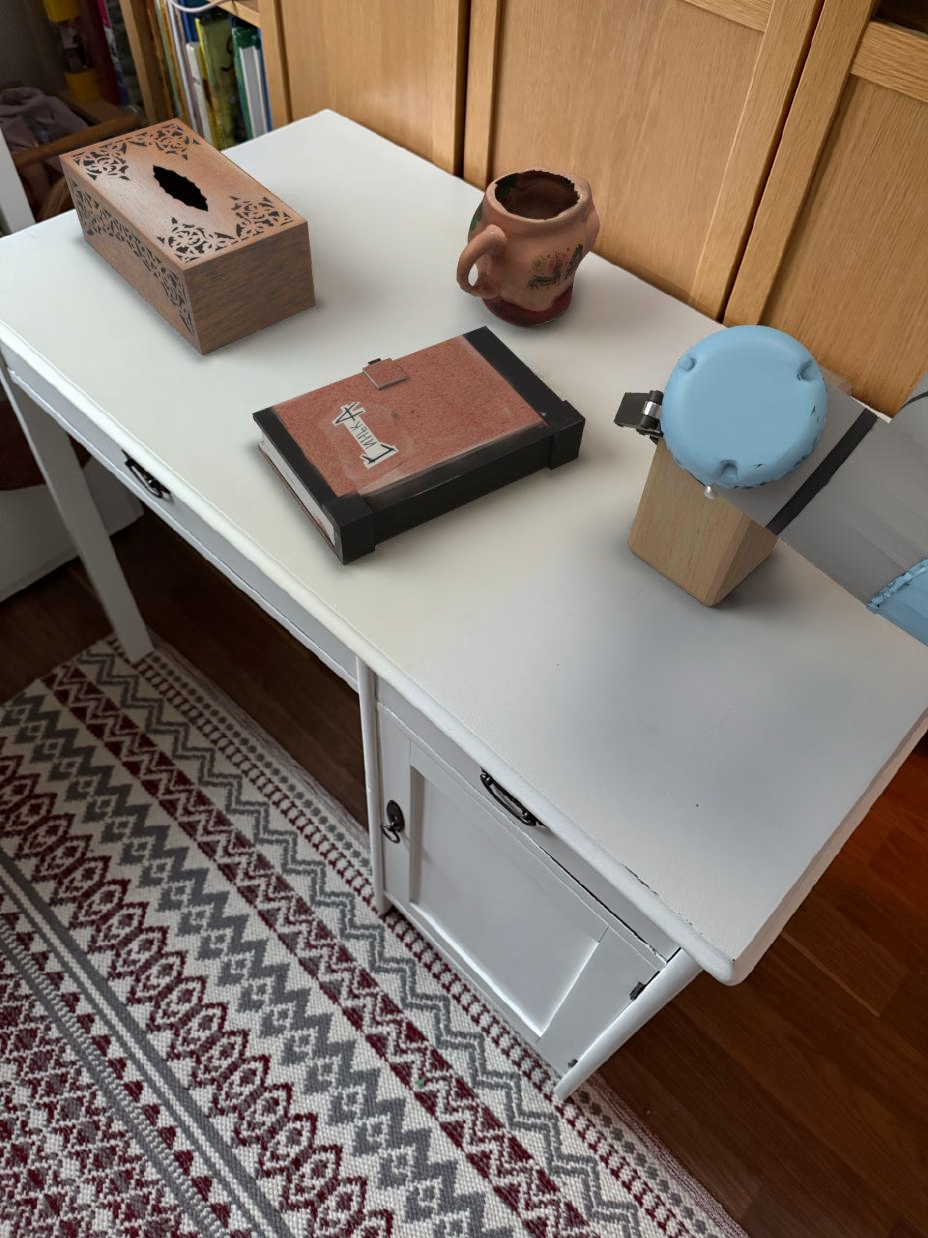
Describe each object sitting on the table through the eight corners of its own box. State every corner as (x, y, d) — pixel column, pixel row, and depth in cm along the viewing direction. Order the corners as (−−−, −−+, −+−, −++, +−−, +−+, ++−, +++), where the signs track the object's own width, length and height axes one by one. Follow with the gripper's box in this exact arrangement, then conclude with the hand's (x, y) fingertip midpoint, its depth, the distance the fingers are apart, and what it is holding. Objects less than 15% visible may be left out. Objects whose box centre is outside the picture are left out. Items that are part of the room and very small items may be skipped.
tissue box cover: (85, 240, 106) (58, 155, 98) (194, 200, 112) (177, 117, 104) (202, 355, 95) (182, 270, 87) (315, 304, 101) (307, 220, 93)
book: (479, 357, 97) (482, 317, 93) (577, 457, 89) (585, 418, 85) (255, 444, 88) (248, 404, 84) (343, 565, 80) (339, 527, 76)
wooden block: (773, 554, 83) (862, 381, 67) (709, 614, 79) (788, 446, 62) (686, 494, 87) (750, 318, 71) (620, 549, 83) (673, 374, 66)
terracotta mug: (506, 377, 96) (519, 258, 84) (418, 327, 100) (419, 207, 88) (611, 292, 105) (635, 175, 94) (527, 250, 109) (540, 133, 98)
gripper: (537, 423, 60) (587, 449, 80) (907, 563, 54) (859, 552, 75) (580, 311, 58) (620, 366, 79) (966, 443, 53) (900, 466, 73)
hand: (737, 457), depth 77 cm, fingers open, 12 cm apart
